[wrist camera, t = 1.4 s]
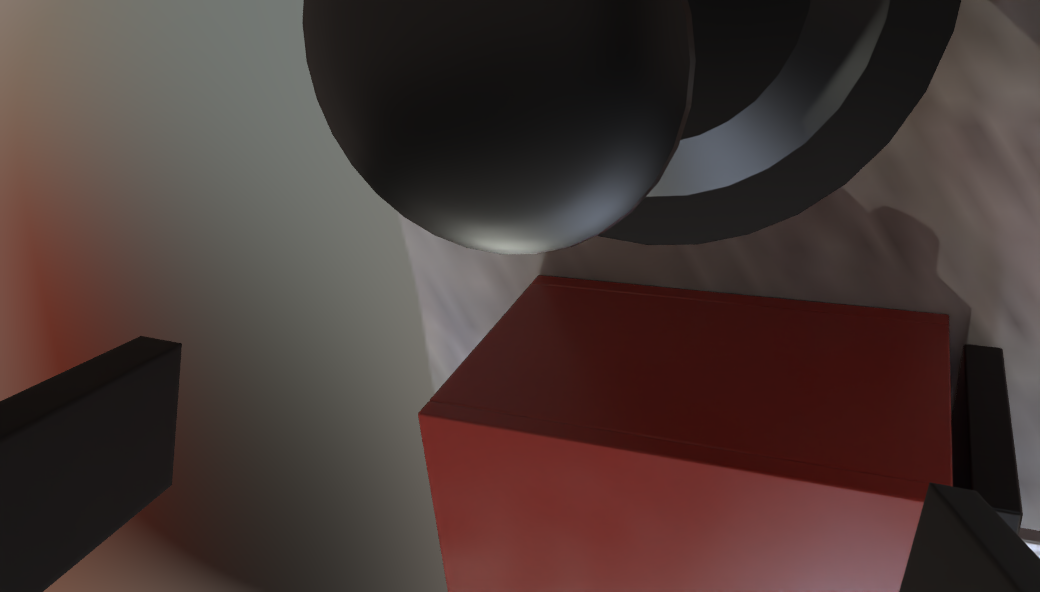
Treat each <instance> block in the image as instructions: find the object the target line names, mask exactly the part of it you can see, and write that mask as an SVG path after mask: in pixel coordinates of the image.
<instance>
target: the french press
mask: <svg viewBox="0 0 1040 592" xmlns="http://www.w3.org/2000/svg"><path fill="white" fill-rule="evenodd" d="M960 3H961V0H304V6H303V31H304V40H305V48H306V58H307V64H308V68H309V71H310V75H311V79H312V82H313V86H314V90H315V93H316V97H317V100H318V102H319V105H320V107H321V109H322V111H323V114H324V116H325V118H326V121H327V123H328V125H329V127H330V129H331V132H332V134H333V136H334V137H335V139H336V140H337V142H338V143H339V145H340V147H341V148H342V150H343V151H344V153H345V155H346V156H347V158H348V159H349V161H350V163H351V164H352V166H353V167H354V168H355V169H356V170H357V171H358V173H359V174H360V175H361V176H362V177H363V178H364V180H365V181H366V182H367V183H368V184H369V185H370V186H371V188H372V189H373V190H374V191H375V192H376V193H377V194H378V195H379V196H380V197H381V198H382V199H384V200H385V201H386V202H387V203H389V204H390V205H391V206H392V207H393V208H394V209H396V210H397V211H398V212H399V213H400V214H401V215H403V216H404V217H405V218H407V219H409V220H410V221H412V222H414V223H415V224H417V225H419V226H420V227H422V228H424V229H425V230H427V231H429V232H430V233H432V234H434V235H435V236H438V237H441V238H443V239H446V240H448V241H451V242H454V243H456V244H459V245H461V246H464V247H466V248H471V249H476V250H481V251H487V252H492V253H497V254H540V253H544V252H549V251H554V250H559V249H563V248H568V247H572V246H575V245H577V244H579V243H581V242H584V241H586V240H588V239H590V238H593V237H595V236H597V235H598V236H601V237H606V238H612V239H618V240H623V241H629V242H635V243H640V244H646V245H685V244H702V243H707V242H712V241H717V240H722V239H727V238H733V237H738V236H743V235H748V234H750V233H753V232H755V231H758V230H760V229H763V228H765V227H768V226H770V225H773V224H775V223H778V222H780V221H783V220H785V219H788V218H790V217H793V216H795V215H798V214H799V213H801V212H802V211H804V210H806V209H807V208H809V207H810V206H812V205H813V204H815V203H817V202H818V201H820V200H821V199H823V198H824V197H826V196H828V195H829V194H831V193H832V192H834V191H835V190H837V189H838V188H840V187H842V186H843V185H845V184H846V183H847V182H848V181H849V180H850V179H851V178H852V177H853V176H855V175H856V174H857V173H858V172H859V171H860V170H861V169H862V168H863V167H864V166H865V165H866V164H867V163H868V162H869V161H870V160H871V159H872V158H873V157H875V156H876V155H877V154H878V153H879V152H880V151H881V150H882V149H883V148H884V147H885V146H886V145H887V144H888V143H889V142H890V141H891V139H892V138H893V137H894V135H895V134H896V132H897V131H898V130H899V128H900V127H901V125H902V124H903V123H904V121H905V120H906V118H907V117H908V116H909V114H910V113H911V112H912V110H913V109H914V107H915V106H916V105H917V103H918V102H919V100H920V99H921V98H922V96H923V95H924V93H925V92H926V90H927V88H928V86H929V84H930V82H931V79H932V77H933V75H934V73H935V71H936V69H937V66H938V64H939V62H940V60H941V58H942V55H943V53H944V51H945V49H946V47H947V45H948V42H949V40H950V38H951V36H952V34H953V32H954V28H955V24H956V19H957V15H958V11H959V7H960Z"/></svg>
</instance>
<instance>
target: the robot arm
mask: <svg viewBox="0 0 1040 592" xmlns="http://www.w3.org/2000/svg"><path fill="white" fill-rule="evenodd" d="M181 347H182V344H181V343H176V342H171V341H165V340H160V339H155V338H149V337H144V336H140V337H138V338H136V339H134V340H131V341H129V342H127V343H125V344H123V345H121V346H119V347H116V348H114V349H113V350H110V351H108V352H106V353H104V354H101V355H99V356H97V357H95V358H93V359H91V360H89V361H86V362H84V363H82V364H80V365H78V366H76V367H73V368H71V369H69V370H67V371H65V372H63V373H61V374H58V375H56V376H54V377H52V378H50V379H48V380H45V381H43V382H41V383H39V384H37V385H35V386H33V387H30V388H28V389H26V390H24V391H22V392H20V393H18V394H15V395H13V396H11V397H9V398H7V399H5V400H2V401H0V592H43V591H44V590H45V589H47V588H48V587H49V586H50V585H51V584H53V583H54V582H55V581H56V580H57V579H59V578H60V577H61V576H62V575H64V573H66V572H67V571H68V570H70V569H71V568H72V567H73V566H74V565H76V564H77V563H78V562H79V561H80V560H82V559H83V558H84V557H85V556H86V555H88V554H89V553H90V552H91V551H93V550H94V549H95V548H96V547H97V546H99V545H100V544H101V543H102V542H103V541H104V540H106V539H107V538H108V537H109V536H111V535H112V534H113V533H114V532H115V531H117V530H118V529H119V528H120V527H122V526H123V525H124V524H125V523H126V522H128V521H129V520H130V519H131V518H132V517H134V516H135V515H136V514H137V513H138V512H140V511H141V510H142V509H143V508H144V507H146V506H147V505H148V504H149V503H150V502H152V501H153V500H154V499H155V498H157V497H158V496H159V495H160V494H161V493H163V492H164V491H165V490H166V489H167V488H168V487H170V486H171V485H172V474H173V460H174V446H175V431H176V418H177V404H178V403H177V402H178V390H179V375H180V360H181ZM899 592H1040V558H1039V557H1038V556H1037V555H1036V554H1035V553H1034V552H1033V551H1032V550H1031V549H1030V548H1029V547H1028V545H1027V544H1026V543H1025V542H1024V541H1023V540H1022V539H1021V538H1020V537H1019V536H1018V535H1017V534H1016V533H1015V532H1014V531H1013V529H1012V528H1011V527H1010V526H1009V525H1008V524H1007V523H1006V522H1005V521H1004V520H1003V519H1002V518H1001V517H1000V516H999V515H998V513H997V512H996V511H995V510H994V509H993V508H992V507H991V506H990V505H989V504H988V503H987V502H986V501H985V500H984V499H983V497H982V496H981V495H980V494H979V493H978V492H977V491H974V490H969V489H963V488H958V487H953V486H947V485H942V484H936V483H931V482H929V486H928V490H927V493H926V497H925V500H924V504H923V508H922V511H921V515H920V518H919V522H918V526H917V529H916V533H915V537H914V540H913V544H912V547H911V551H910V555H909V558H908V562H907V565H906V569H905V573H904V576H903V580H902V583H901V587H900V591H899Z"/></svg>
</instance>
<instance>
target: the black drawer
mask: <svg viewBox="0 0 1040 592" xmlns="http://www.w3.org/2000/svg"><path fill="white" fill-rule="evenodd" d="M952 460H953V487H958V488H963V489H969V490H974V491H977V492H978V493H979V494H980V495H981V496H982V497H983V499H984V500H985V501H986V502H987V503H988V504H989V505H990V506H991V507H992V508H993V509H994V510H995V511H996V512H997V513H998V515H999V516H1000V517H1001V518H1002V519H1003V520H1004V521H1005V522H1006V523H1007V524H1008V525H1009V526H1010V527H1011V528H1012V529H1013V531H1014V532H1015V533H1016V534H1017V535H1018V536H1019V537H1020V538H1021V539H1022V540H1023V541H1024V542H1025V543H1026V544H1027V545H1028V547H1029V548H1030V549H1031V550H1032V551H1033V552H1034V553H1035V554H1036V555H1037V556H1038V557H1039V558H1040V531H1036V530H1031V529H1025V528H1020V525H1021V521H1022V516H1023V512H1022V504H1021V496H1020V488H1019V480H1018V472H1017V464H1016V455H1015V447H1014V439H1013V431H1012V423H1011V415H1010V407H1009V398H1008V390H1007V382H1006V374H1005V366H1004V358H1003V350H1002V348H997V347H988V346H978V345H969V344H965V345H964V346H963V351H962V357H961V364H960V370H959V377H958V383H957V390H956V396H955V402H954V409H953V415H952Z"/></svg>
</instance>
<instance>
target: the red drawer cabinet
mask: <svg viewBox="0 0 1040 592" xmlns="http://www.w3.org/2000/svg"><path fill="white" fill-rule="evenodd" d="M418 418H419V424H420V429H421V435H422V441H423V446H424V453H425V459H426V465H427V471H428V477H429V483H430V488H431V495H432V500H433V506H434V512H435V518H436V524H437V530H438V536H439V541H440V548H441V554H442V560H443V565H444V571H445V577H446V583H447V589H448V592H899V591H900V587H901V583H902V580H903V576H904V573H905V569H906V565H907V562H908V558H909V555H910V551H911V547H912V544H913V540H914V537H915V533H916V529H917V526H918V522H919V518H920V515H921V511H922V508H923V504H924V500H925V497H926V493H927V490H928V486H929V482H931V483H936V484H942V485H947V486H953V460H952V418H951V376H950V334H949V315H947V314H937V313H927V312H916V311H906V310H896V309H885V308H875V307H864V306H854V305H844V304H833V303H823V302H813V301H802V300H792V299H781V298H771V297H761V296H750V295H740V294H729V293H719V292H709V291H698V290H688V289H678V288H667V287H657V286H646V285H636V284H626V283H615V282H605V281H595V280H584V279H574V278H563V277H553V276H543V275H538V276H537V277H536V278H535V280H534V281H533V282H532V284H530V286H529V287H528V288H527V289H526V290H525V291H524V292H523V294H522V295H521V296H520V297H519V298H518V299H517V300H516V302H515V303H514V304H513V305H512V306H511V307H510V308H509V310H508V311H507V312H506V313H505V314H504V315H503V316H502V318H501V319H500V320H499V321H498V322H497V323H496V325H495V326H494V327H493V328H492V329H491V330H490V331H489V333H488V334H487V335H486V336H485V337H484V338H483V339H482V341H481V342H480V343H479V344H478V345H477V346H476V347H475V349H474V350H473V351H472V352H471V353H470V354H469V355H468V357H467V358H466V359H465V360H464V361H463V362H462V364H461V365H460V366H459V367H458V368H457V369H456V370H455V372H454V373H453V374H452V375H451V376H450V377H449V378H448V380H447V381H446V382H445V383H444V384H443V385H442V386H441V388H440V389H439V390H438V391H437V392H436V393H435V394H434V396H433V397H432V398H431V399H430V402H428V403H427V404H426V405H425V406H424V407H423V408H422V410H421V411H420V412H419V413H418Z"/></svg>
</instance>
